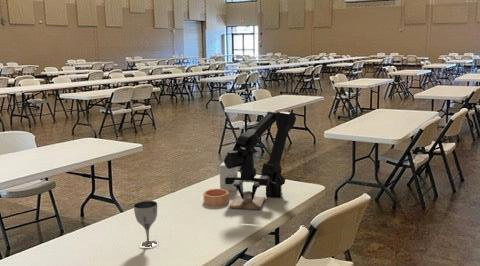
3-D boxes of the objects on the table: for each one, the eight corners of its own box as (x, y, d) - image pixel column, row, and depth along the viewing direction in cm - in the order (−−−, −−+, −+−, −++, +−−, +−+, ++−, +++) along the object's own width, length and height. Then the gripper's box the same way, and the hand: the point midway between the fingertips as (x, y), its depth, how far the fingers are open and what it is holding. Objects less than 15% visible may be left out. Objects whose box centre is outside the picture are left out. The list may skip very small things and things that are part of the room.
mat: (268, 200, 207) (268, 198, 207) (262, 212, 192) (262, 210, 192) (235, 198, 210) (235, 197, 210) (227, 210, 196) (226, 208, 196)
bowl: (231, 198, 209) (231, 189, 209) (225, 207, 199) (224, 197, 198) (208, 197, 212) (207, 188, 211) (201, 206, 202) (200, 196, 201)
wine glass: (138, 240, 168) (135, 201, 165) (160, 239, 168) (158, 199, 166) (135, 250, 160) (132, 209, 157) (158, 248, 161) (156, 207, 158)
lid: (265, 198, 206) (265, 188, 205) (260, 209, 193) (259, 198, 192) (236, 197, 209) (236, 187, 208) (229, 207, 196) (229, 196, 195)
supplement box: (235, 191, 219) (234, 166, 217) (219, 191, 221) (218, 165, 218) (238, 187, 226) (237, 161, 224) (223, 186, 228) (222, 161, 225)
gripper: (271, 160, 203) (272, 194, 206) (230, 158, 207) (231, 192, 211) (267, 166, 193) (268, 202, 196) (224, 165, 197) (225, 200, 200)
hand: (247, 199), depth 201 cm, fingers closed on lid, 4 cm apart
